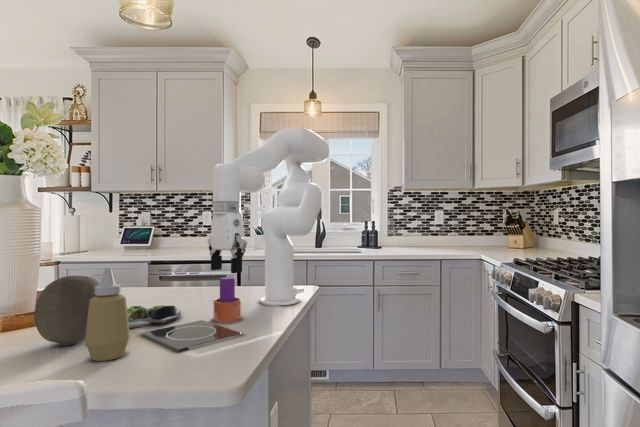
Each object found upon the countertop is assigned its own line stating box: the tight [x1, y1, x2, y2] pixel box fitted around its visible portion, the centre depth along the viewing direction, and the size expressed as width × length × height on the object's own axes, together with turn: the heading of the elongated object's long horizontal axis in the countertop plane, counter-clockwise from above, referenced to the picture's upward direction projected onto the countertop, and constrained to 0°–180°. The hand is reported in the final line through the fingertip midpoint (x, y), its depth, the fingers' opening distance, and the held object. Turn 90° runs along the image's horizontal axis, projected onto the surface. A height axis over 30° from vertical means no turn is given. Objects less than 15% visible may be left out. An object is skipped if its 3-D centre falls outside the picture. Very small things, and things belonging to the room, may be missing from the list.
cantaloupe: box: [33, 275, 101, 346], centre depth 90 cm, size 14×14×15 cm
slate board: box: [141, 319, 242, 353], centre depth 95 cm, size 16×18×1 cm
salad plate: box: [127, 304, 181, 329], centre depth 108 cm, size 19×18×5 cm
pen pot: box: [212, 297, 242, 323], centre depth 110 cm, size 7×7×6 cm
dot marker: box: [219, 276, 236, 302], centre depth 110 cm, size 4×4×11 cm
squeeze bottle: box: [84, 266, 131, 362], centre depth 81 cm, size 8×8×18 cm
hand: (226, 271), depth 109 cm, fingers open, 9 cm apart
